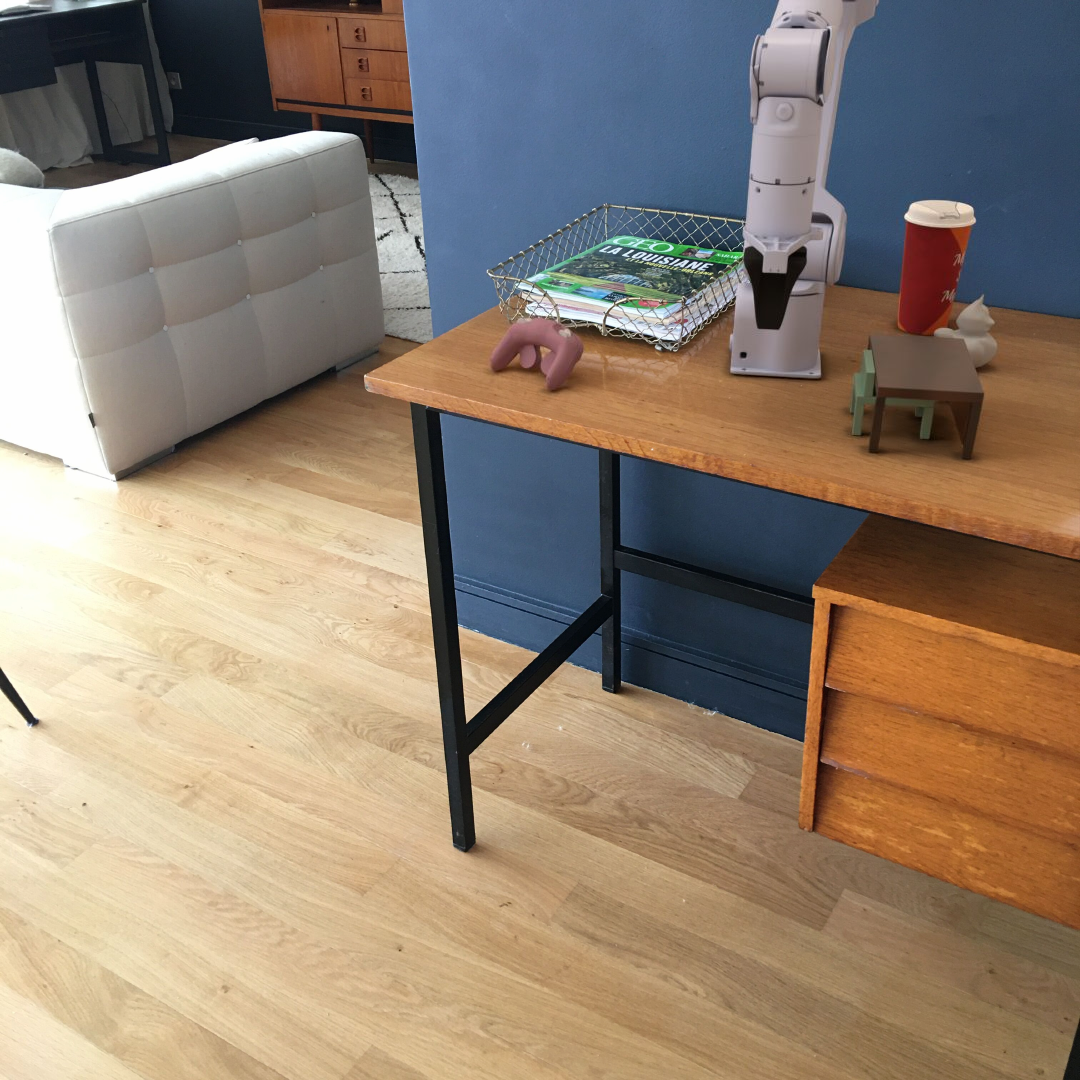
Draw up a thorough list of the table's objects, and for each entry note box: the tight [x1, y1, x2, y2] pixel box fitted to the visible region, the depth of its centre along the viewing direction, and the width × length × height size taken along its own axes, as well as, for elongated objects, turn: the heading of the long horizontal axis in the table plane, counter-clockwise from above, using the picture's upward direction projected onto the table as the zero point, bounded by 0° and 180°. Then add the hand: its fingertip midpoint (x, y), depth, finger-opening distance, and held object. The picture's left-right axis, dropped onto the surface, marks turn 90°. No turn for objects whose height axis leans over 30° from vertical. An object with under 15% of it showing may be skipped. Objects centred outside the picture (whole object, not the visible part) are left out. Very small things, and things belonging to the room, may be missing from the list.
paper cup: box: [897, 199, 977, 336], centre depth 126 cm, size 8×8×14 cm
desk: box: [866, 333, 985, 460], centre depth 104 cm, size 9×14×6 cm, turn 169°
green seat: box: [849, 349, 936, 440], centre depth 104 cm, size 7×6×6 cm
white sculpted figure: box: [933, 293, 998, 369], centre depth 117 cm, size 5×7×8 cm
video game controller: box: [489, 317, 584, 391], centre depth 118 cm, size 10×5×7 cm, turn 47°
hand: (768, 327), depth 103 cm, fingers closed
